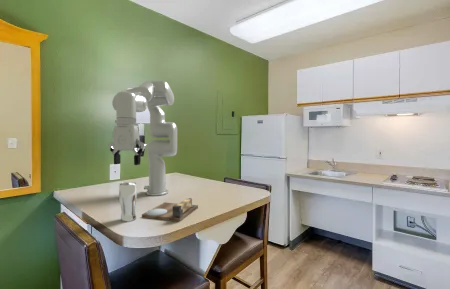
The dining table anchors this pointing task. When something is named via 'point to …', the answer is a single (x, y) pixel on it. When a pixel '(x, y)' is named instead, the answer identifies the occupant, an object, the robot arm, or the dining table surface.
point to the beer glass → (128, 200)
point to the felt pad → (156, 212)
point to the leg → (181, 207)
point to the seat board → (171, 212)
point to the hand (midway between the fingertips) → (127, 164)
